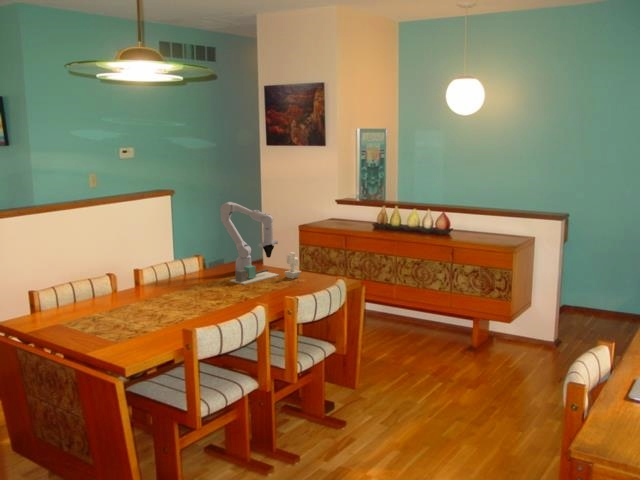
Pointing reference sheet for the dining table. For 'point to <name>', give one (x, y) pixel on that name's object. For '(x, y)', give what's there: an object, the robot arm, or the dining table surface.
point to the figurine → (292, 266)
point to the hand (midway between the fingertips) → (268, 257)
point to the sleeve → (250, 271)
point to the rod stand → (243, 278)
